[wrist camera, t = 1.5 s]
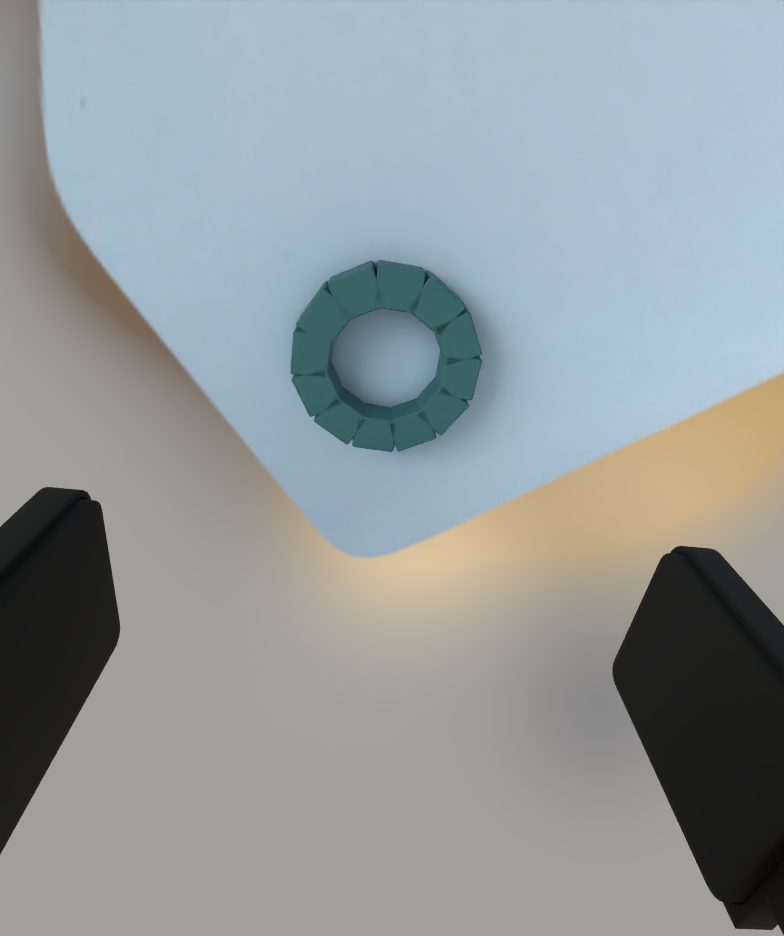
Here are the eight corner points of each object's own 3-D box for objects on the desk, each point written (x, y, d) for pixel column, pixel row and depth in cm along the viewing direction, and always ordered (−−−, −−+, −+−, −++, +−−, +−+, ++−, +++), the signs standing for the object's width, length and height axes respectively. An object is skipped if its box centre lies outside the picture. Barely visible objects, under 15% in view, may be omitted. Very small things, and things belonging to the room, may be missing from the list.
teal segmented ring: (290, 423, 26) (285, 438, 24) (304, 246, 22) (299, 252, 21) (453, 446, 27) (457, 461, 25) (493, 279, 23) (501, 286, 21)
